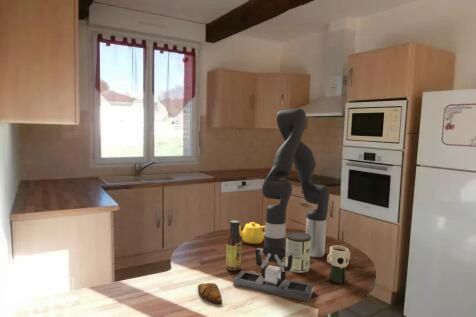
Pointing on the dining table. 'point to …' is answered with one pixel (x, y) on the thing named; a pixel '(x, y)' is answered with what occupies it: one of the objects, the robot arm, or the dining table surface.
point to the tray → (285, 288)
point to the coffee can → (298, 251)
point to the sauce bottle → (233, 247)
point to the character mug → (338, 263)
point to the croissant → (210, 292)
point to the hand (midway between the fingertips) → (273, 278)
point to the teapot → (252, 233)
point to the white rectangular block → (272, 275)
